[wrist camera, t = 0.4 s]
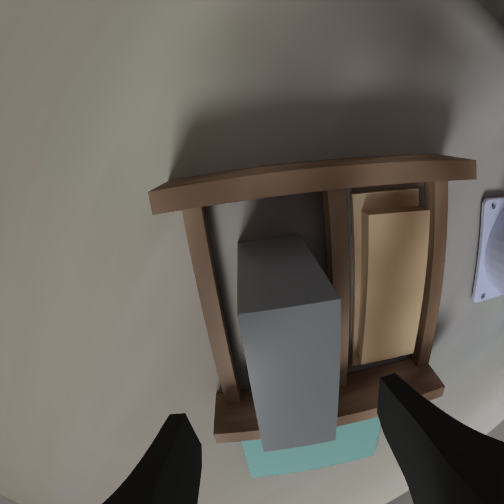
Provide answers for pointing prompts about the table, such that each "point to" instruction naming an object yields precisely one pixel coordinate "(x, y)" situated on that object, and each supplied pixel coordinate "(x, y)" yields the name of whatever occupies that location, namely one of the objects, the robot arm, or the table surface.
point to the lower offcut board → (358, 203)
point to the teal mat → (315, 451)
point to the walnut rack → (337, 249)
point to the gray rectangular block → (289, 341)
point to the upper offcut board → (391, 281)
